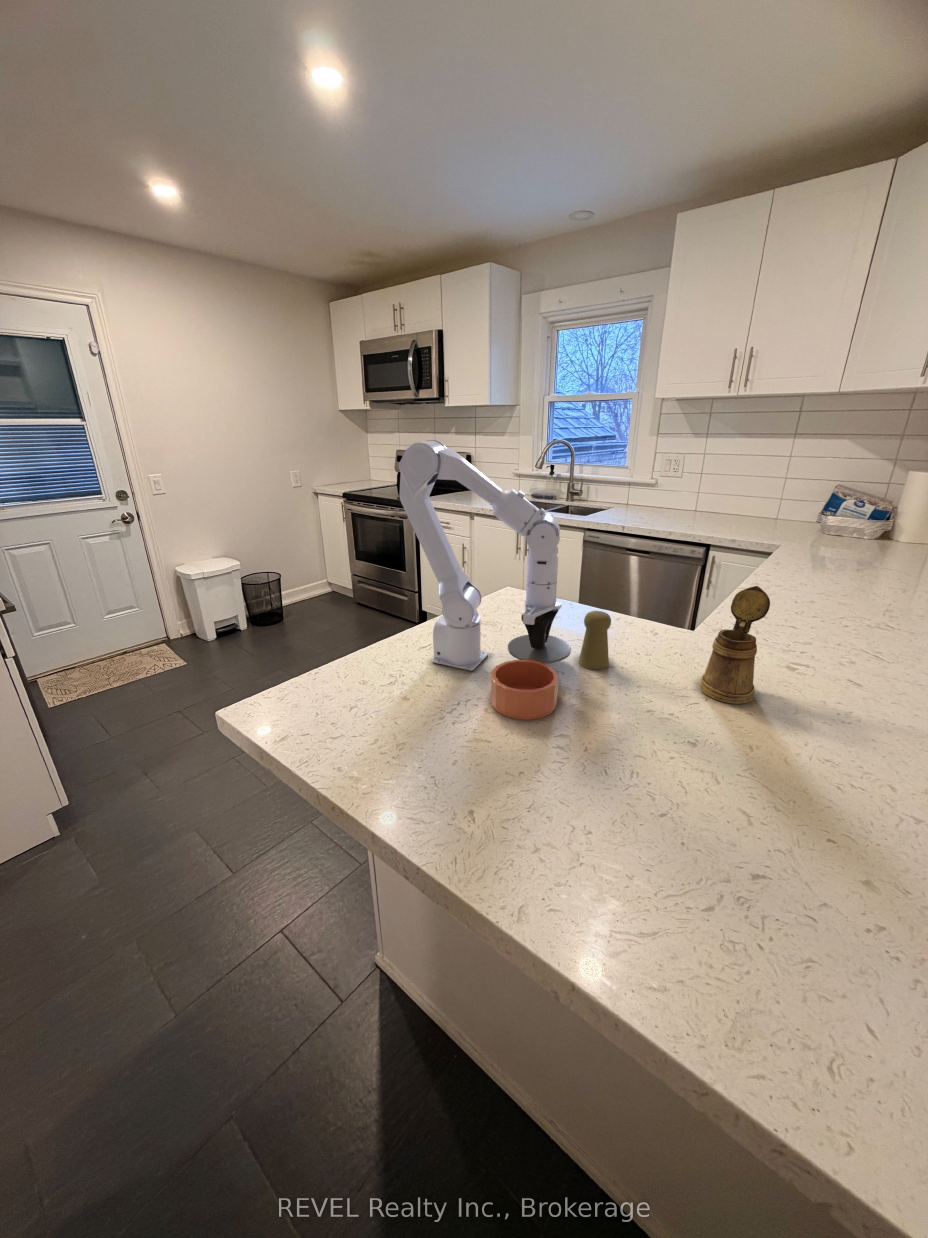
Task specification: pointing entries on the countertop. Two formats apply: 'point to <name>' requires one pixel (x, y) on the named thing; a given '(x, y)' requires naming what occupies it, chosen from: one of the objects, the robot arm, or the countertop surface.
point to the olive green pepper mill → (595, 641)
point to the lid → (548, 653)
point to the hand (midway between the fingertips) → (538, 644)
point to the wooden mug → (736, 651)
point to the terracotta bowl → (524, 689)
